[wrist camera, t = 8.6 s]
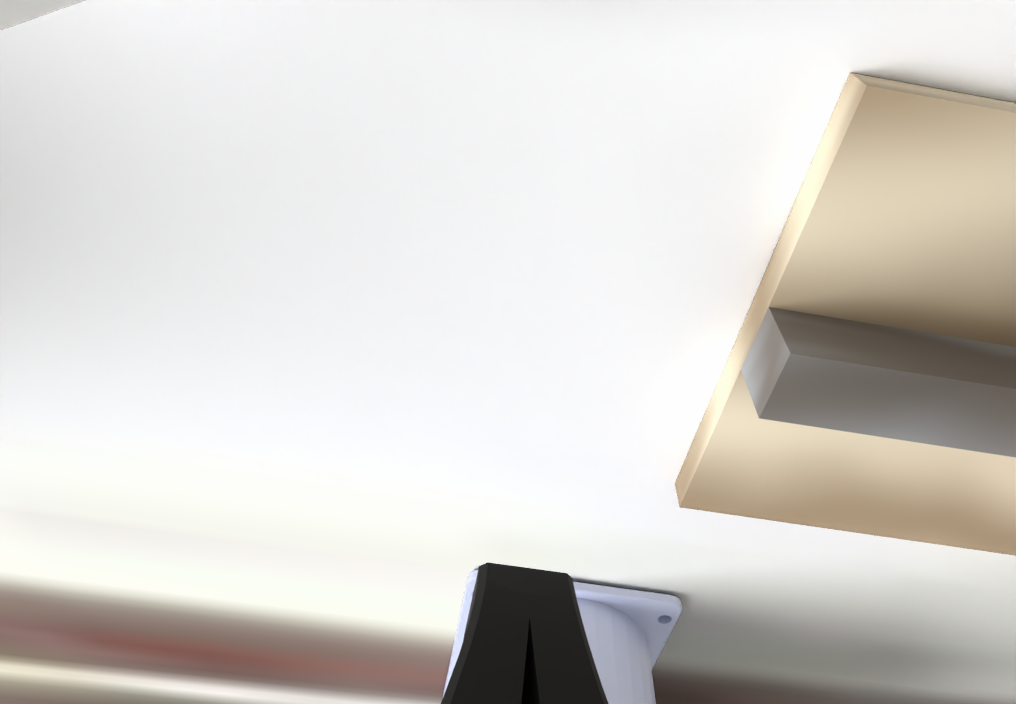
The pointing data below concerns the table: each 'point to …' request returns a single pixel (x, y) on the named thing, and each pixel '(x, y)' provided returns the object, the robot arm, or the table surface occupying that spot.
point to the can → (28, 10)
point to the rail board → (891, 266)
